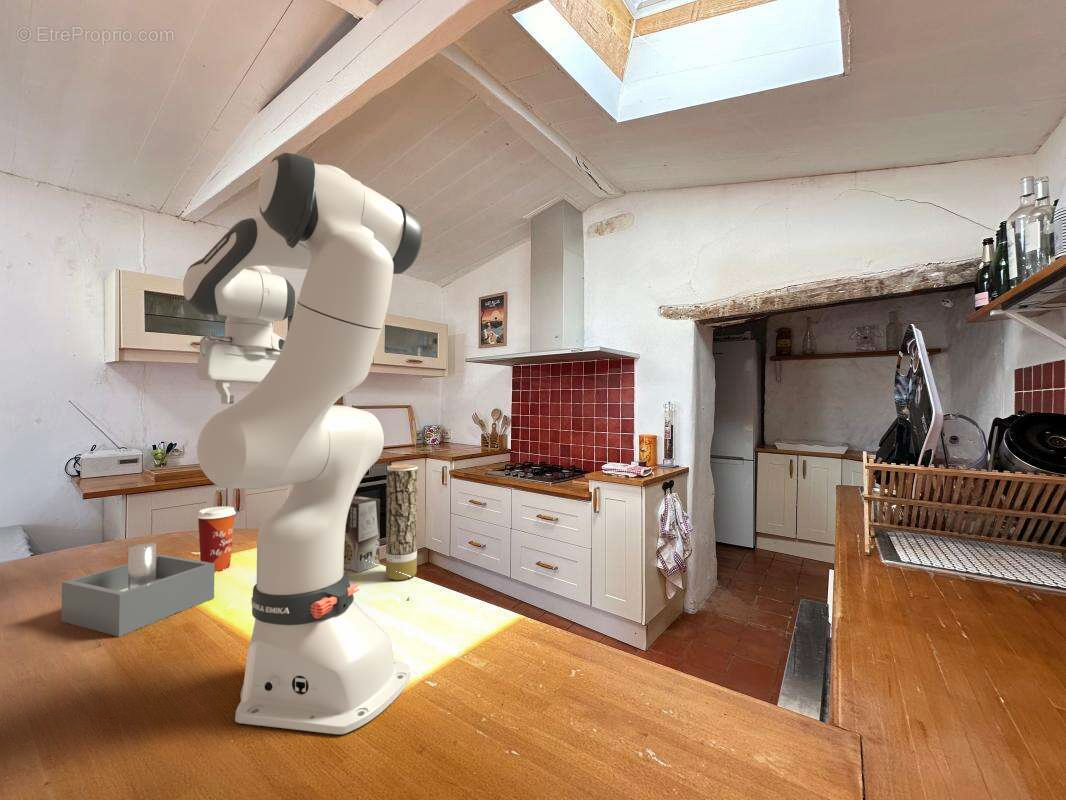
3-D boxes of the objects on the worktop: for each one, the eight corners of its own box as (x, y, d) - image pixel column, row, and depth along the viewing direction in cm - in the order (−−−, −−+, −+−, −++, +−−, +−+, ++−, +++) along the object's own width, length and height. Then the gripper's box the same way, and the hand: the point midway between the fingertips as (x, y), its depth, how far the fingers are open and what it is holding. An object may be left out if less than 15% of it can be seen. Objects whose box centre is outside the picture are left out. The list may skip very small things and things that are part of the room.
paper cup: (220, 574, 103) (221, 513, 103) (187, 574, 103) (188, 512, 104) (242, 562, 111) (243, 505, 111) (211, 562, 111) (212, 505, 111)
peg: (160, 606, 87) (161, 544, 87) (136, 615, 83) (137, 550, 83) (146, 603, 88) (147, 541, 88) (122, 612, 84) (123, 547, 85)
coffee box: (380, 565, 110) (381, 498, 110) (357, 573, 105) (358, 503, 105) (356, 558, 115) (357, 494, 115) (333, 565, 109) (334, 499, 110)
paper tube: (408, 582, 99) (409, 468, 100) (379, 580, 101) (381, 467, 101) (421, 571, 106) (422, 465, 106) (395, 569, 107) (396, 464, 108)
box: (214, 598, 91) (214, 563, 91) (119, 636, 76) (119, 594, 76) (160, 587, 96) (160, 554, 96) (61, 621, 81) (61, 582, 81)
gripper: (212, 332, 87) (210, 403, 87) (298, 345, 106) (297, 404, 106) (189, 333, 89) (188, 403, 89) (278, 346, 108) (277, 404, 108)
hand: (248, 403), depth 98 cm, fingers open, 8 cm apart
